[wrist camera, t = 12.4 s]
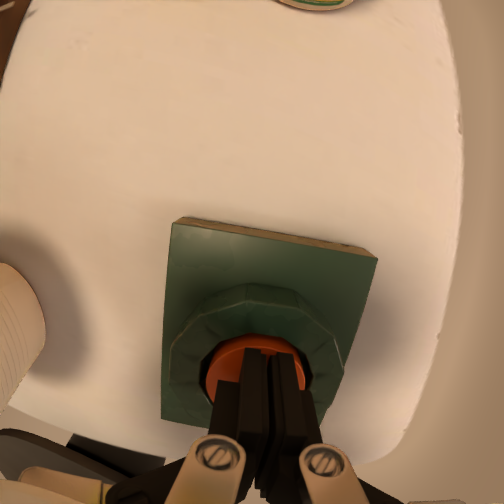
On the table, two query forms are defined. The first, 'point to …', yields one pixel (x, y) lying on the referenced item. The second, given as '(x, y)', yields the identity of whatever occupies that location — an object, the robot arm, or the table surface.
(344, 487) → the robot arm
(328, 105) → the table surface
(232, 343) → the button
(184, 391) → the button box
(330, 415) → the table surface
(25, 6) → the brown dial base plate
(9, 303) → the cup
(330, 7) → the supplement bottle
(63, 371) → the table surface
